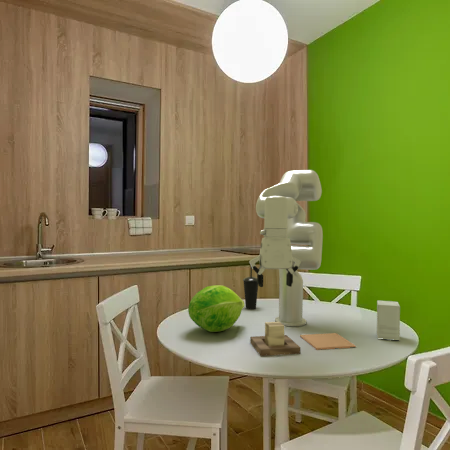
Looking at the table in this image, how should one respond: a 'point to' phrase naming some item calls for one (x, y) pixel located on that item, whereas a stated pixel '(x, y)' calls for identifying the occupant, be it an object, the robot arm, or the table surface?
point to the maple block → (274, 333)
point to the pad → (327, 341)
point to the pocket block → (265, 350)
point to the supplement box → (388, 320)
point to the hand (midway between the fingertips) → (274, 286)
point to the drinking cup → (250, 291)
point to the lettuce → (215, 308)
